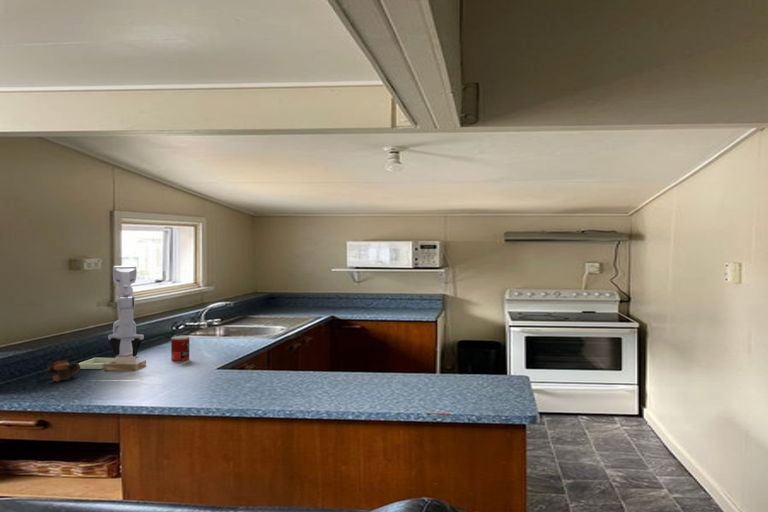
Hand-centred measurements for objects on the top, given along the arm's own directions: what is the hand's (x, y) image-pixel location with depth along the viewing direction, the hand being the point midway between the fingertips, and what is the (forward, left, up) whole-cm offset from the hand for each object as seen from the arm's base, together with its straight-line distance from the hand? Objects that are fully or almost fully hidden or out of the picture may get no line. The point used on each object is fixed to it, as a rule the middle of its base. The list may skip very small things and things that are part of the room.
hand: (126, 356), depth 221 cm
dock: (0, 0, -6) cm, 6 cm away
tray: (-4, -15, -6) cm, 16 cm away
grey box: (0, 0, -5) cm, 5 cm away
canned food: (-18, +16, -6) cm, 25 cm away
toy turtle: (+17, -16, -6) cm, 24 cm away
